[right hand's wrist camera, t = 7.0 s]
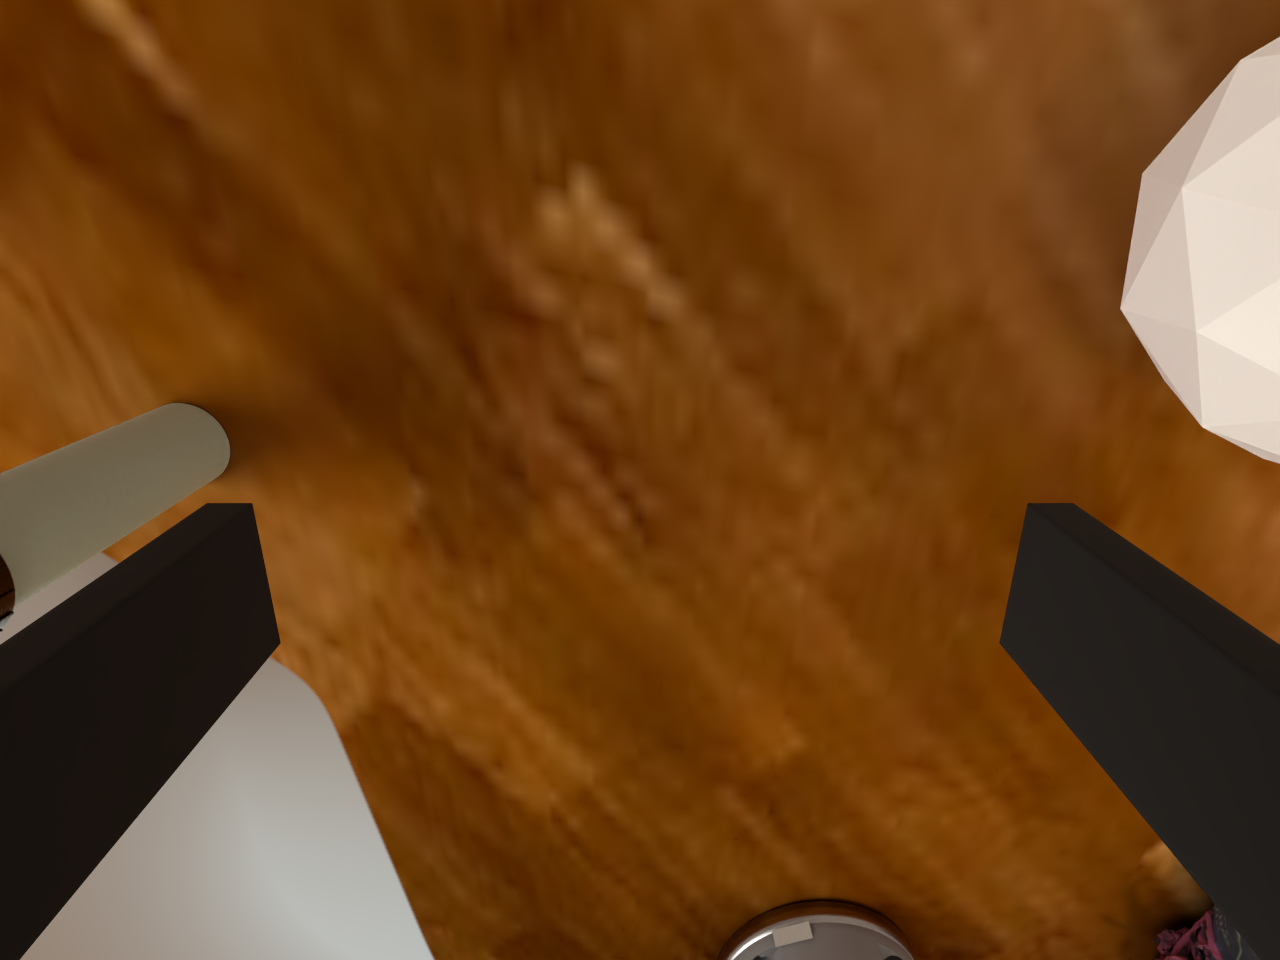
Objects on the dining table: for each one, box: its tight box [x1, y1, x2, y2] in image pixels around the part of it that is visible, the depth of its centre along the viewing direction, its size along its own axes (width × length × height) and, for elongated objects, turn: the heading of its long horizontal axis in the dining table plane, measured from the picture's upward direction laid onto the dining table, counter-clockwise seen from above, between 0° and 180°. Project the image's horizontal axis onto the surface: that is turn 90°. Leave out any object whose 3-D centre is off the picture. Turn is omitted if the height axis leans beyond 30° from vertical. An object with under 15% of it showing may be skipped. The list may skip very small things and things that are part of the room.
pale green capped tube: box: [0, 403, 230, 607], centre depth 33 cm, size 5×5×17 cm
